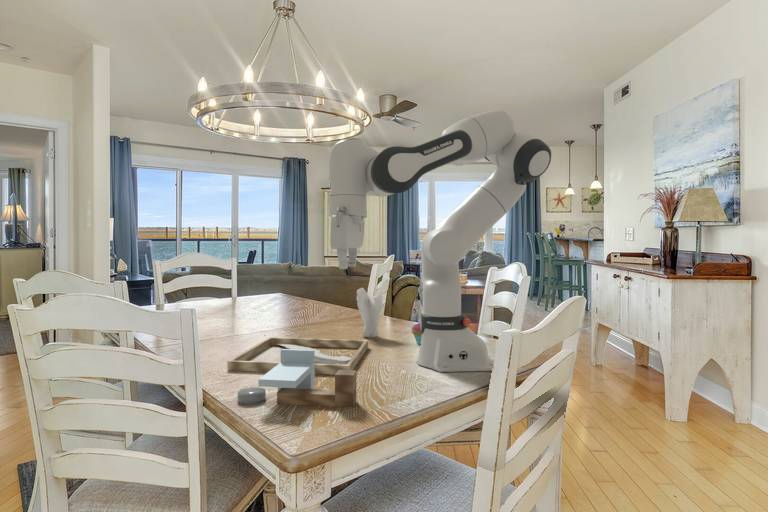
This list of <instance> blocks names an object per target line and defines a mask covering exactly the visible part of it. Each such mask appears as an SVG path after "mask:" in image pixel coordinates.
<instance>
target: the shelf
mask: <svg viewBox="0 0 768 512" xmlns="http://www.w3.org/2000/svg"><path fill="white" fill-rule="evenodd" d="M280 362H281V363H279V364H278V365H277V366H275V367H274V368H273V369H271V370H270V371H269V372H266V373H265V374H263V375H262V376H261V377H260V378H258V387H260V388H265V387H267V388H277V392H278V391H279V390H280V389H281V388H297V389H316V387H315V375H316V374H315V364H314V350H301V349H288V348H281V349H280Z"/></svg>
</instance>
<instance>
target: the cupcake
mask: <svg viewBox="0 0 768 512" xmlns="http://www.w3.org/2000/svg"><path fill="white" fill-rule="evenodd" d="M418 309H419V310H418V312H419V320H420V321H419V322H418V323H416V324H414V325H413V326H412V327H411V333H412V334H413V336H414V338H415V342H416V344H418V345H420V344H421V337H422V333H421V314H422V310H421V308H420V307H418Z"/></svg>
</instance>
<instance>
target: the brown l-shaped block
mask: <svg viewBox="0 0 768 512" xmlns="http://www.w3.org/2000/svg"><path fill="white" fill-rule="evenodd" d="M355 403H356V404H357V370H354V369H353V370H338V371H337V373H336V374H335V375H334V389H316V388H315V389H297V388H281V389H280V390H279V391H278V390H277V392H276V404H277V405H279V404H280V405H294V406H295V405H297V406H298V405H300V406H316V407H319V406H320V407H334V408H346V407H354V408H355V406H356V404H355ZM354 405H355V406H354Z"/></svg>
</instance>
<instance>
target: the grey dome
mask: <svg viewBox="0 0 768 512" xmlns="http://www.w3.org/2000/svg"><path fill="white" fill-rule="evenodd" d="M266 392H267V391H266V389H265V388H264V387H259V386H258V387H256V386H255V387H253V386H252V387H247V388H243V389H240V390H239V391H238V392H237V403H238V402H239V404H240V403H241V405H245V404H246V405H247V406H248V405H257V404H260V403H263V402H264V401H266V399H267V398H266V397H267V396H266ZM246 405H245V406H246Z"/></svg>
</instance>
